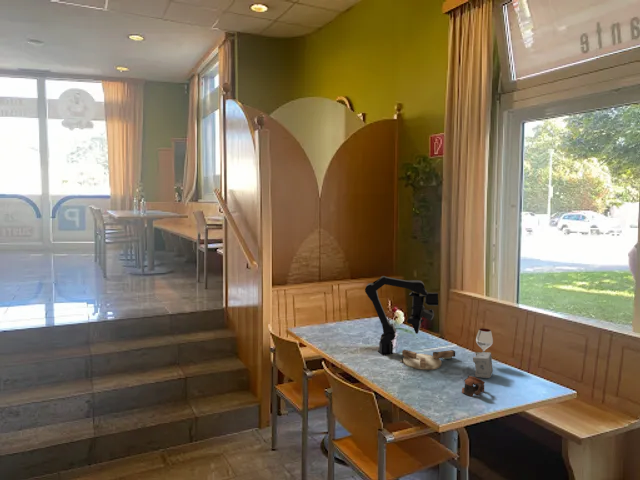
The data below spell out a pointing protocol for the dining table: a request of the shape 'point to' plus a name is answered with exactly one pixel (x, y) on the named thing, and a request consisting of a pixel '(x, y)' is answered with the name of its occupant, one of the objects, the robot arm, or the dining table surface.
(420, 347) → the dining table surface
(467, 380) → the reddish brown arched figure
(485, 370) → the incense holder
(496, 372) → the dining table surface
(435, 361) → the stool seat
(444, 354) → the folding leg
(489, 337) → the wineglass
